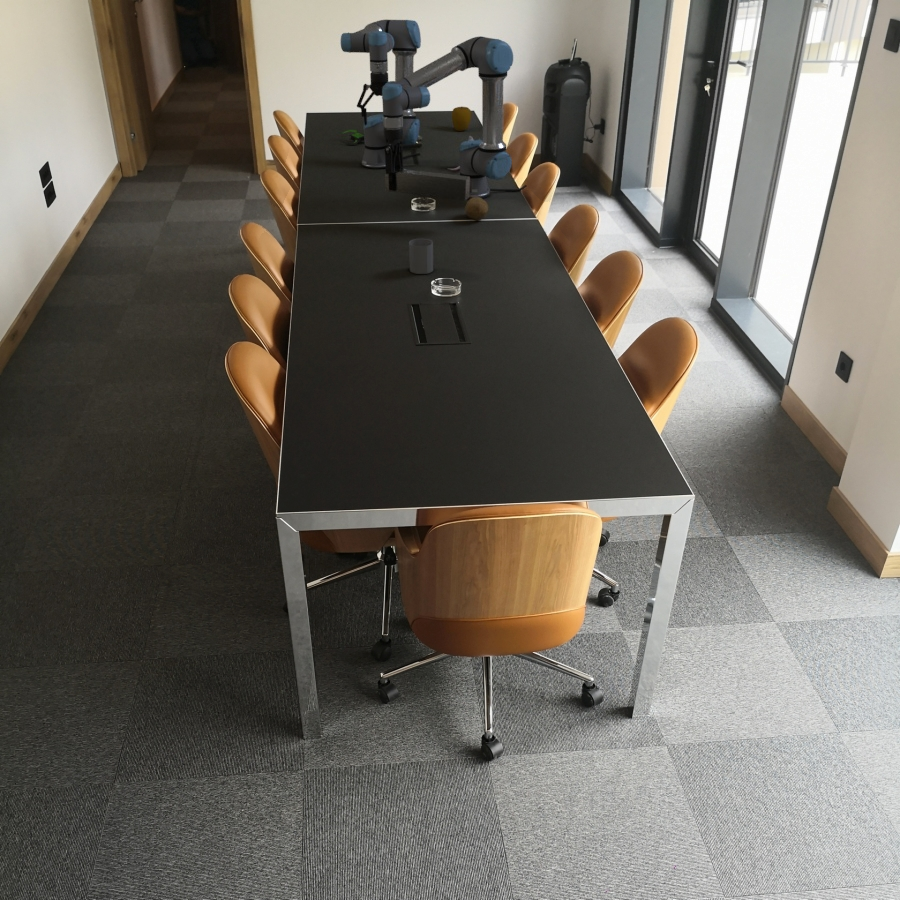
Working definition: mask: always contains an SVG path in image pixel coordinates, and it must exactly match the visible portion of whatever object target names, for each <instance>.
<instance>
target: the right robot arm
mask: <svg viewBox="0 0 900 900" xmlns="http://www.w3.org/2000/svg"><path fill="white" fill-rule="evenodd" d="M513 63H514V52H513V50H512V47H511V46H510V44H509V43H507V42H506V41H504V40H501V39H499V38H492V37H486V36H475V37H471V38H469V39H466V40H465V41H463V42H461V43H459V44H457V45H455V46H453V47H452V48H451V50H450V52H448V53H446V54H443V56H441V57H438V58H437V59H435V60H434V61H432V62H430V63H428V64H426V65H424V66H423V67H420V68H418V69H417V70H415V71H413V73H412V74H410V75H408V76H406V77H404V78H402V79H400V80H399V81H397V82H396V81H395V80H391V81H389V80H388V82H387V83H386V84H385V85H384V86H383V89H382V96H381V99H382V100H381V101H382V114H383V119H382V120H383V124H384V127H385V128H384V138H385V139H387V140H388V144H387V148H385V149H384V150H385V163H386V168H385V170H386V174H388V177H389V190H390V191H396V174H394V172H395V168H397V169H404V159H403V157H404V148H403V146H404V145H403V141H400V139H402V138H403V128H402V127H403V110H408V109H413V110H415V109H423V108H426V107H428V106H429V105H430V103H431V93H430V91H429V87H431V86H433V85H435V84H437V83H438V82H440V81H442V80H444V79H445V78H448V77H449V76H451V75H453V74H455V73H457V72H458V71H461V72H464V71H466V70H467V69H471V68H475V69H476V68H477V69H478V72H477V73H478V77H479V79H480V80H481V87H482V88H481V92H482V93H481V96H482V97H481V98H482V99H481V100H482V101H481V102H482V103H481V104H482V105H481V106H482V107H481V109H482V112H481V113H482V114H481V117H482V118H481V119H482V120H481V121H482V124H481V125H482V129H481V132H482V137H481V138H482V139H480V140H479V139H473V140H471V141H468V140H465V141H462V142H461V143H460V145H459V166H460V169H459V176H468V177H470V188H469V198H468V199H467V200H470V199H471V198H473V197H479V198H482V199H486V198H488V197H490V195H491V192H520V191H522V190H524V189H525V188H527V187H528V185H527V184H524V185H523V186H522V187H520V188H510V189H509V188H490V186H489V183H488V179H490V180H494V181H495V180H496V181H497V180H502V179H503V178H505V177H506V176H507V175H508V173H510V170H511V168H512V162H513V161H512V157H511V156H510V153H508V152H507V143H505V141H504V80H505V79H506V78H507V77H508V71H510V69H511V68H512V66H513ZM487 178H488V179H487Z"/></svg>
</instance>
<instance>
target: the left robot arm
mask: <svg viewBox="0 0 900 900" xmlns="http://www.w3.org/2000/svg"><path fill="white" fill-rule="evenodd" d="M421 43H422V38H421V29H420V27H419V24H418V22H417V21H416V20H412V19H380V20H377V21H373V22H370V23H368V24H366V25H365V26H364V28H362V29H360V30H357V31H355V32H343V33H342V34H341V35H340V49H341V50H342V52H343V53H350V54H351V53H365V54H369V55H368V56H369V71H370V74H369V75H370V77H369V78H370V84H367V83H364V84H363V85H362V86H363V87H362V92H361V94H360V97H359V100H358V101H357V104H356V108H359V109H360V112H361V113H360V114H361V117H362V118H363V134H364V141H363V142H364V151H363V155H362V159H361V166H362V167H363V168H366V169H371V170H381V169H386V163H385V150H384V149H385V148H387V144H388V140H387V139H385V138H384V128H385V127H384V124H383V120H382V119H383V113H378V114H373V115H370V116H369V115H367V113H368V112H367V107H366V106H367V105H368V104H369V102H370V101H371V99H372V98H373V97H374V96H375V97H379V96H380V97H382V89H383V86H384V85H385V84H386V83H387V82H389V73H388V71H389V59H388V53H390V52H392V54H393V55H394V64H395V65H394V66H395V67H394V75H395V76H394V81H396V82H397V81H399V80H400V79H402V78H404V77H406V76H408V75H410V74H412V73H413V72H414V63H415V62H414V61H415V59H414V57H415V55H417V53H418V49H420V48H421V46H422V45H421ZM369 89H370V91H371V93H370V94H369V95H368V97H367V98H366V100H365V101H364V98H365V96H366V93H367V91H368V90H369ZM363 101H364V102H363ZM362 102H363V104H362ZM420 125H421V124H420V119H418V118H417V114H416V113H415V112H414V109H408V110H403V127H402V128H403V138H402V139H400V141H403V146H404V145H405V146H410V145H411V146H412V145H415V144H416V143H417V141H418V138H419V134H420V127H421V126H420ZM420 155H421V153H420V152H418V153H412V154H408V155H404V156H403V160H404V159H407V158H409V157H410V158H411V157H415V156H420Z"/></svg>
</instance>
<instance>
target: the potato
mask: <svg viewBox="0 0 900 900" xmlns="http://www.w3.org/2000/svg"><path fill="white" fill-rule="evenodd" d="M488 211H489V205H488V203H487V201H485V199H484V198H479V197H473V198H471V199H468V201H467V202H466V204H465V207H464V212H465V214H466V215H467V217H468V218H471V219H472V220H482V219H483V218H484V217H486V216H487V214H488Z"/></svg>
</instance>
